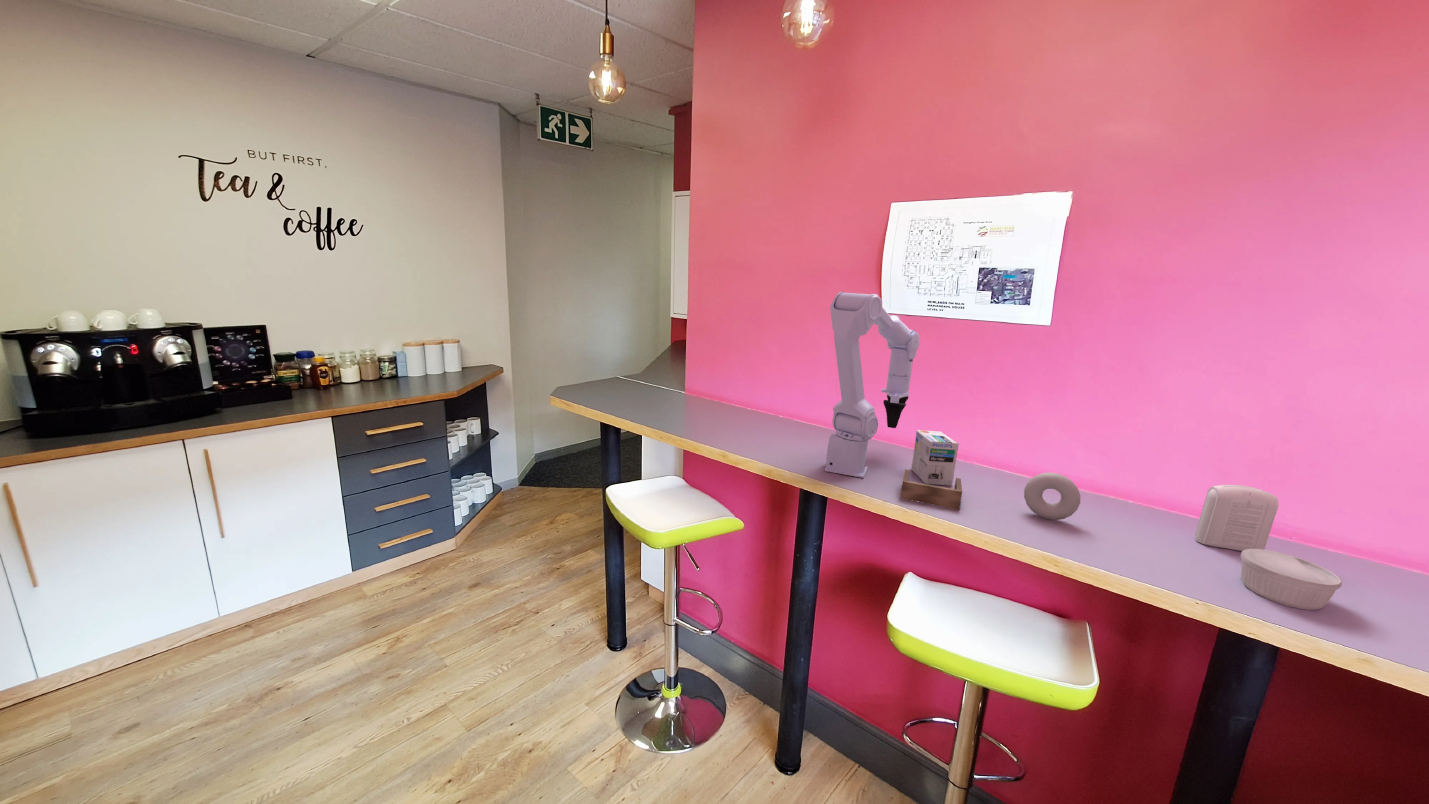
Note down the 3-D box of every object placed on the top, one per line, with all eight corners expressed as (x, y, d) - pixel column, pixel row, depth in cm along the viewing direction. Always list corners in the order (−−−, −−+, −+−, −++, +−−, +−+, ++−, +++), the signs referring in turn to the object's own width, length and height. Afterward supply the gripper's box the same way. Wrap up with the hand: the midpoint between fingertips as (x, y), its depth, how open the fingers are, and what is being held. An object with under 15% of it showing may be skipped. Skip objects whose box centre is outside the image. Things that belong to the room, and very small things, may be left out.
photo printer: (1253, 546, 105) (1271, 487, 102) (1267, 557, 101) (1287, 495, 98) (1189, 536, 108) (1205, 478, 105) (1201, 546, 104) (1218, 486, 101)
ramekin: (1353, 615, 83) (1364, 584, 82) (1288, 615, 82) (1298, 584, 81) (1274, 576, 94) (1283, 548, 93) (1215, 575, 93) (1223, 547, 92)
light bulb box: (953, 486, 128) (960, 443, 126) (924, 484, 128) (931, 441, 126) (936, 470, 139) (942, 430, 136) (909, 469, 139) (915, 429, 136)
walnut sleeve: (900, 498, 119) (902, 481, 118) (902, 485, 127) (905, 469, 126) (959, 509, 115) (962, 492, 114) (958, 495, 123) (960, 478, 122)
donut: (1075, 522, 111) (1085, 477, 109) (1074, 528, 108) (1085, 481, 106) (1020, 509, 117) (1029, 465, 115) (1018, 514, 114) (1027, 469, 112)
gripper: (886, 369, 150) (880, 416, 153) (880, 376, 137) (874, 428, 140) (913, 372, 148) (906, 419, 151) (910, 380, 135) (903, 432, 138)
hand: (892, 424), depth 145 cm, fingers open, 7 cm apart
